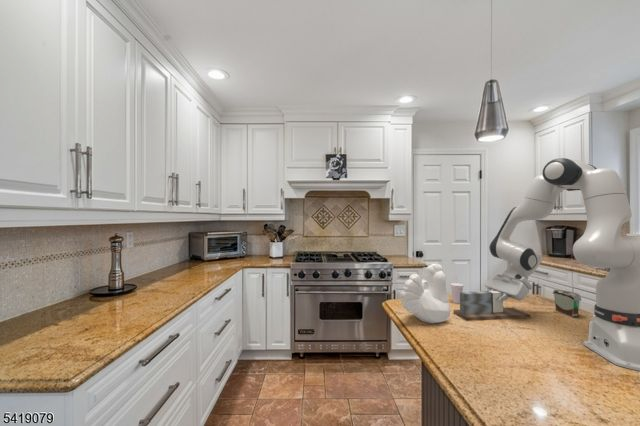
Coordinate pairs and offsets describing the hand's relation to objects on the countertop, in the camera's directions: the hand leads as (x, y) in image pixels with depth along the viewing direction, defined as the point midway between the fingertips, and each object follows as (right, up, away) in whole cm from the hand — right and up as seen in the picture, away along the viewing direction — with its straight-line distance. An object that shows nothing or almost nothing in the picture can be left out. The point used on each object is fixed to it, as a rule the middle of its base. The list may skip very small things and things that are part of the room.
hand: (494, 300), depth 130 cm
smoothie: (-8, -8, +19) cm, 22 cm away
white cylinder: (+1, -5, 0) cm, 5 cm away
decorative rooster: (-36, -7, -6) cm, 37 cm away
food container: (+37, -7, +1) cm, 38 cm away
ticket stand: (-2, -7, 0) cm, 7 cm away
